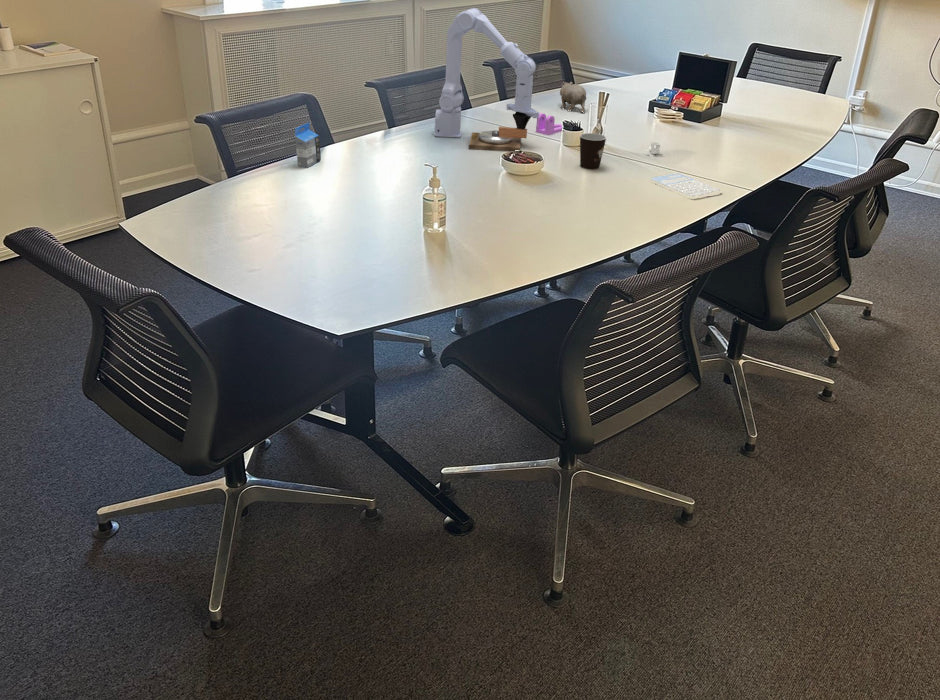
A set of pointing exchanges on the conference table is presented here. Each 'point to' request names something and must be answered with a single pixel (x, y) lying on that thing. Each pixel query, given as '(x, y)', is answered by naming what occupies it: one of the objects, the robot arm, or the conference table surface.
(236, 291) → the conference table surface
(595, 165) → the coffee mug
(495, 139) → the dial
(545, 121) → the bracket
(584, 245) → the conference table surface
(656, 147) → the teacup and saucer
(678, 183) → the calculator
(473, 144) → the stand
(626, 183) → the conference table surface
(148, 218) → the conference table surface
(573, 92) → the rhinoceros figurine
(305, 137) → the label tape box
